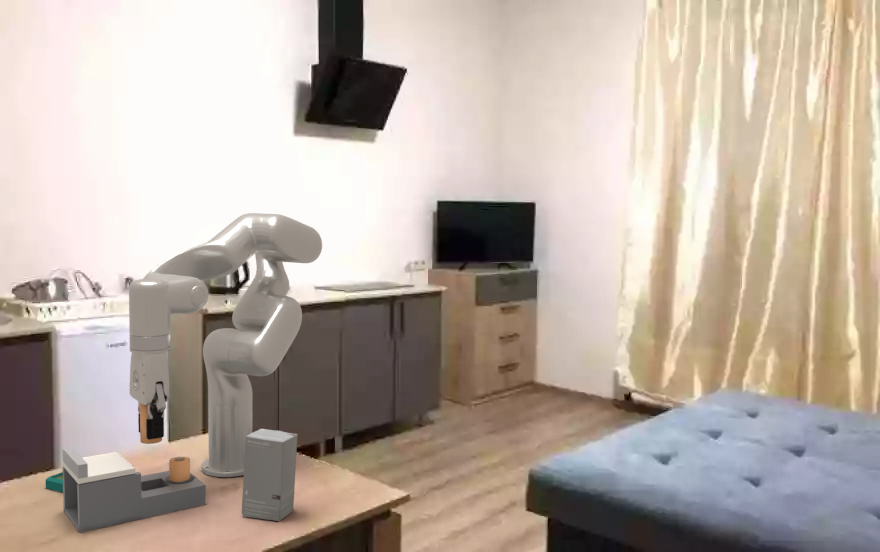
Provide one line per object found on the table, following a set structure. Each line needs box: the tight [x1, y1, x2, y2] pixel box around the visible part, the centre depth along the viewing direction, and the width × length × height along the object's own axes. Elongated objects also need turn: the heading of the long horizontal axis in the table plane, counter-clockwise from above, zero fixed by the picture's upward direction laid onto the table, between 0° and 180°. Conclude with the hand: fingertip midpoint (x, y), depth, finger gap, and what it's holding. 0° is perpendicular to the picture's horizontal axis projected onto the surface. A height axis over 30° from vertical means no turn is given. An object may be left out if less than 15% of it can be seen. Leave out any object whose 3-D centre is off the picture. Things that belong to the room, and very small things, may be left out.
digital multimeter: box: [45, 471, 63, 494], centre depth 172 cm, size 7×15×3 cm, turn 156°
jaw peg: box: [139, 399, 163, 445], centre depth 158 cm, size 4×4×8 cm
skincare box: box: [241, 428, 298, 522], centre depth 156 cm, size 8×7×16 cm
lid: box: [61, 446, 136, 484], centre depth 153 cm, size 10×12×4 cm
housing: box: [62, 456, 207, 533], centre depth 157 cm, size 24×12×9 cm, turn 128°
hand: (151, 434), depth 158 cm, fingers closed on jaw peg, 4 cm apart
